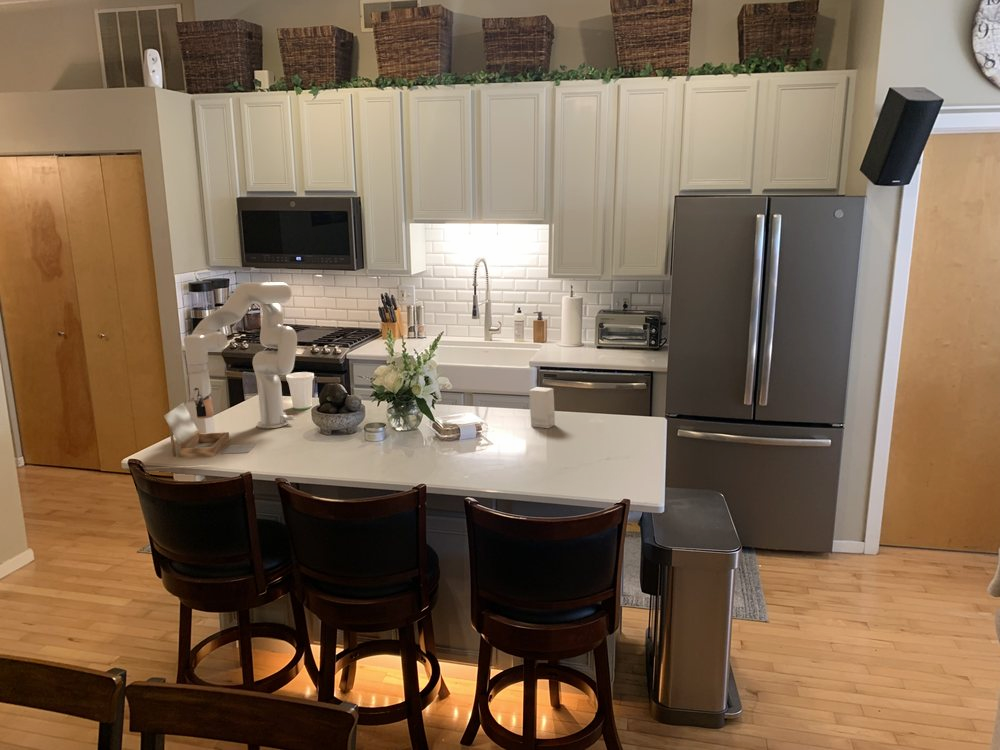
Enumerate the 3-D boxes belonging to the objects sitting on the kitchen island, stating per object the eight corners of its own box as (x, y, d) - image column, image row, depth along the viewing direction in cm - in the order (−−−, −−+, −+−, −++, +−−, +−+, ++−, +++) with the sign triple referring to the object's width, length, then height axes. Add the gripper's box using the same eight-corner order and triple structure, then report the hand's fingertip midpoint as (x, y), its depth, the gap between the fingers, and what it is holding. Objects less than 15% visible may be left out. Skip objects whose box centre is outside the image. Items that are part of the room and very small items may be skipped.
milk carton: (215, 433, 308) (210, 388, 304) (206, 438, 301) (201, 392, 297) (198, 433, 309) (193, 388, 305) (190, 438, 302) (184, 392, 298)
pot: (215, 413, 289) (213, 395, 287) (210, 418, 283) (208, 400, 281) (199, 414, 288) (197, 396, 287) (194, 419, 283) (191, 400, 281)
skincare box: (555, 425, 308) (555, 388, 305) (547, 429, 303) (547, 391, 299) (537, 422, 313) (537, 386, 309) (529, 426, 307) (528, 389, 304)
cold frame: (229, 440, 298) (225, 400, 294) (213, 456, 278) (209, 414, 275) (187, 442, 297) (182, 402, 293) (168, 458, 278) (163, 415, 274)
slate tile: (255, 445, 291) (255, 444, 291) (248, 453, 281) (248, 452, 281) (228, 446, 290) (228, 445, 290) (221, 454, 280) (220, 453, 280)
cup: (315, 410, 341) (312, 377, 338) (286, 411, 340) (284, 378, 337) (317, 403, 353) (315, 371, 350) (290, 404, 352) (287, 372, 349)
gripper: (195, 363, 289) (202, 408, 294) (180, 373, 273) (186, 421, 277) (215, 362, 290) (221, 407, 294) (201, 372, 273) (207, 420, 277)
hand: (204, 413), depth 285 cm, fingers closed on pot, 6 cm apart
